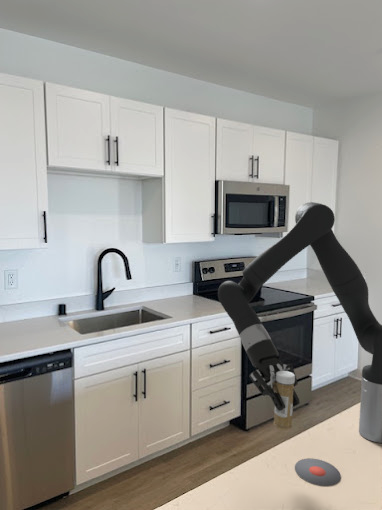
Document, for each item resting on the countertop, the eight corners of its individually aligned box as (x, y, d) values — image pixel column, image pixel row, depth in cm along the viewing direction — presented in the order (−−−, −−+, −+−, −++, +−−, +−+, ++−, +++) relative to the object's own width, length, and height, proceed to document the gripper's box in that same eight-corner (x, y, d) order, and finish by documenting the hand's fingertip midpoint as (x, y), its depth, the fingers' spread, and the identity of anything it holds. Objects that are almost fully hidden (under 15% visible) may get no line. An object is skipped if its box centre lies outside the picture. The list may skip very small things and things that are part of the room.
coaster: (314, 454, 105) (314, 453, 105) (350, 476, 95) (350, 476, 95) (285, 466, 99) (285, 466, 99) (321, 491, 89) (321, 491, 89)
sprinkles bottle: (295, 427, 96) (299, 374, 95) (282, 432, 93) (286, 378, 92) (281, 419, 99) (285, 368, 99) (269, 424, 97) (272, 371, 96)
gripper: (245, 341, 97) (277, 407, 88) (285, 335, 105) (318, 395, 96) (231, 355, 102) (260, 419, 93) (270, 348, 110) (300, 407, 101)
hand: (289, 406), depth 94 cm, fingers closed on sprinkles bottle, 4 cm apart
